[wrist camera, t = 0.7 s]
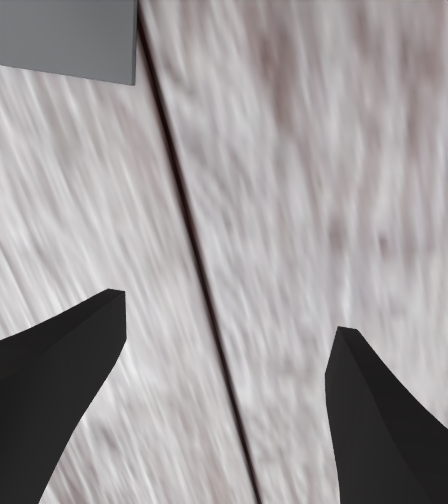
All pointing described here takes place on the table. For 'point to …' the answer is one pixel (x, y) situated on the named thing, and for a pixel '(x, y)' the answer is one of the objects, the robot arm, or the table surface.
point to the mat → (71, 37)
